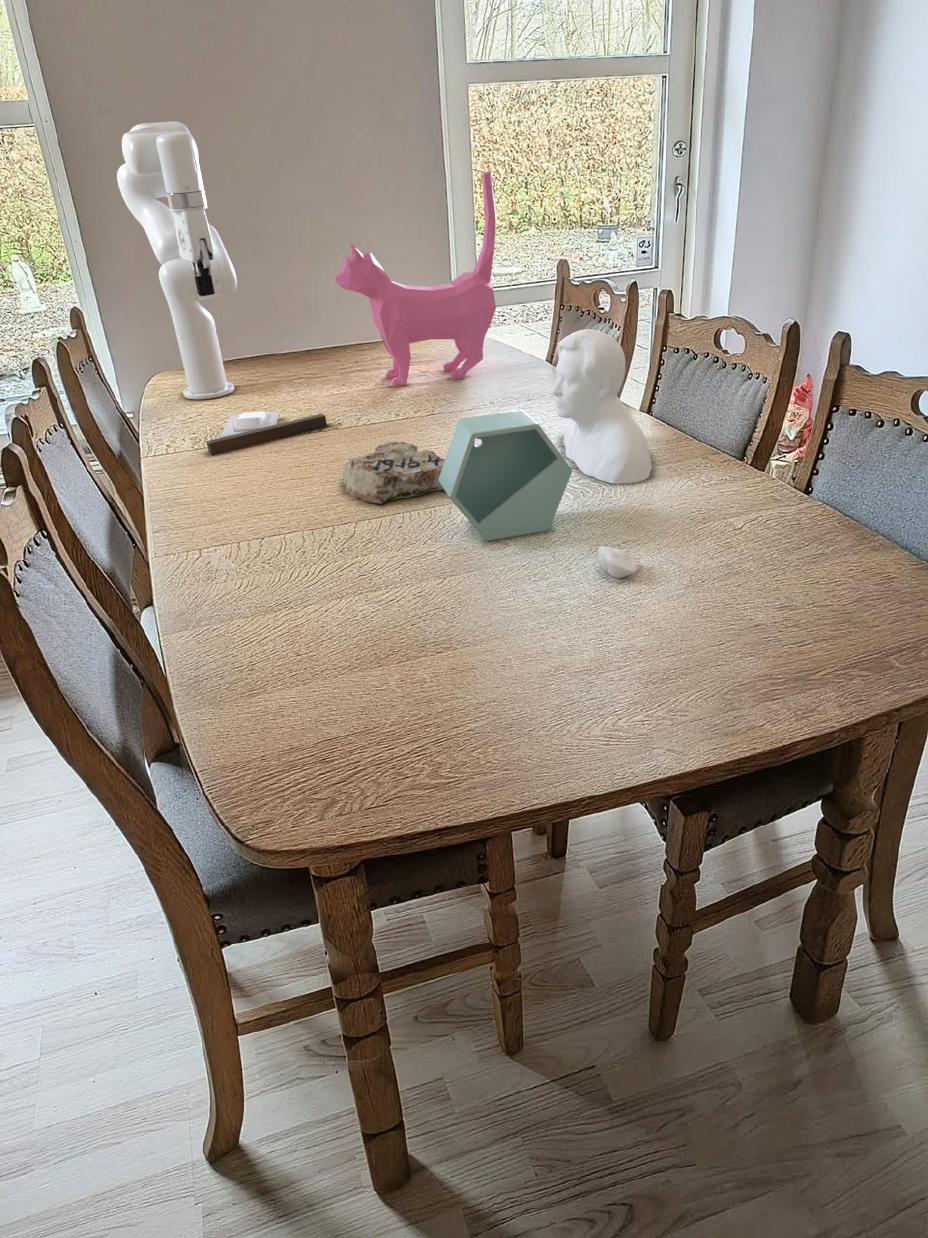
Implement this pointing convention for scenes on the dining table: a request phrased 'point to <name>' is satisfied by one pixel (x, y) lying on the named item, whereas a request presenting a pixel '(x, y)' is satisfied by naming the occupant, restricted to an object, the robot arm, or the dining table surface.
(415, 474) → the stone
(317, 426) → the back rail
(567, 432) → the bust
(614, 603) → the dining table surface
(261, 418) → the light switch
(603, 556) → the dumpling
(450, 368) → the cat
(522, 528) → the planter
